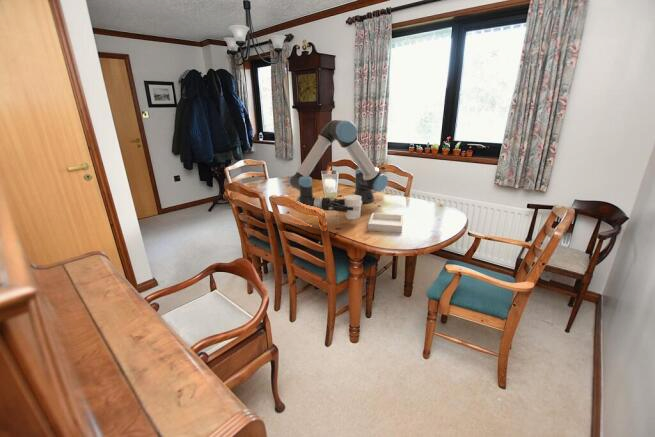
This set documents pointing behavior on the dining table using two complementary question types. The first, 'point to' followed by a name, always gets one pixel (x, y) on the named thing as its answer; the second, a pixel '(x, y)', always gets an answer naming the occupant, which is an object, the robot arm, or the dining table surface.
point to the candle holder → (353, 201)
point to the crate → (386, 222)
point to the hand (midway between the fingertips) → (360, 205)
